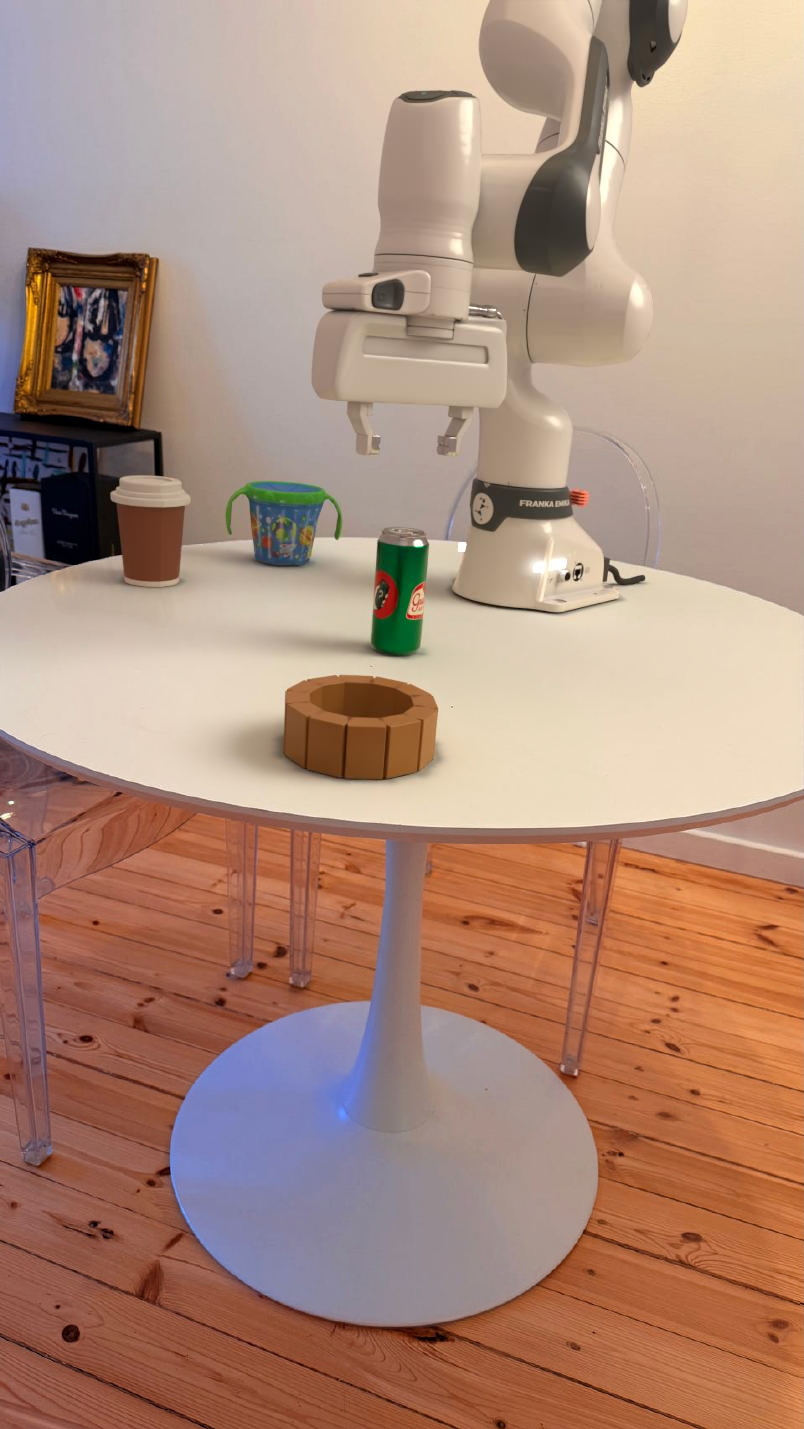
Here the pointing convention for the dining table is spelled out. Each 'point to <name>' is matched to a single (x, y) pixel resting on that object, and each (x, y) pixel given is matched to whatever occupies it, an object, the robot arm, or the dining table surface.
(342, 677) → the brown segmented block ring
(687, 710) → the dining table surface
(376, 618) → the soda can
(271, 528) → the snack cup
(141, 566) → the coffee cup
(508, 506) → the robot arm
